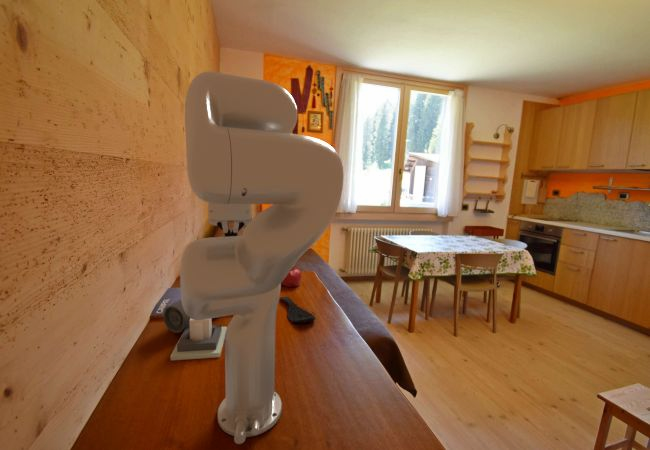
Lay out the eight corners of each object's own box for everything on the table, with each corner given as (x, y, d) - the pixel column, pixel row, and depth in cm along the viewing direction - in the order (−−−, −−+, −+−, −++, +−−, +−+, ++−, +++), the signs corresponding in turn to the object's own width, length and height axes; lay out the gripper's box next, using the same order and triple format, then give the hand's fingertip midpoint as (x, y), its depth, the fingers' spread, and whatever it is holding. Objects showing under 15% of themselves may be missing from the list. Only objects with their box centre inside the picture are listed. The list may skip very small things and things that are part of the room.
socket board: (219, 357, 79) (219, 345, 79) (170, 360, 77) (170, 348, 76) (227, 330, 93) (226, 320, 92) (185, 332, 90) (185, 322, 90)
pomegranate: (301, 281, 139) (302, 261, 137) (301, 288, 129) (302, 267, 128) (279, 280, 138) (280, 260, 137) (277, 288, 128) (278, 266, 127)
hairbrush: (291, 290, 120) (320, 313, 98) (292, 299, 120) (320, 324, 99) (271, 293, 116) (296, 318, 94) (272, 302, 117) (296, 329, 95)
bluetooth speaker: (218, 306, 110) (213, 279, 109) (238, 307, 107) (234, 279, 106) (164, 336, 89) (158, 303, 88) (188, 338, 86) (182, 304, 85)
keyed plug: (209, 344, 82) (208, 321, 81) (189, 346, 81) (188, 322, 80) (212, 335, 87) (211, 312, 86) (193, 336, 86) (192, 313, 85)
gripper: (194, 173, 69) (196, 251, 72) (261, 175, 72) (260, 250, 75) (201, 173, 76) (203, 244, 79) (262, 175, 79) (261, 244, 82)
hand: (231, 247), depth 77 cm, fingers closed
